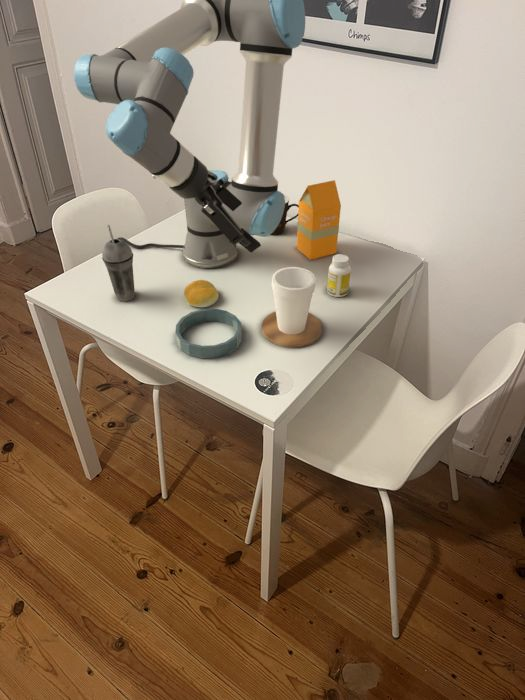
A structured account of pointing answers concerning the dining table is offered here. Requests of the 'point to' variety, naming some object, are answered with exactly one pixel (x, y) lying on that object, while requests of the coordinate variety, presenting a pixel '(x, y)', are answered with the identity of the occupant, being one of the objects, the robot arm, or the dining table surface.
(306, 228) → the orange juice
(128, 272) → the beverage cup
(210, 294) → the bread roll
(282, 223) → the coffee mug
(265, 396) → the dining table surface
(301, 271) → the foam cup
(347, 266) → the supplement bottle
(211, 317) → the ring
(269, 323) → the wooden coaster
